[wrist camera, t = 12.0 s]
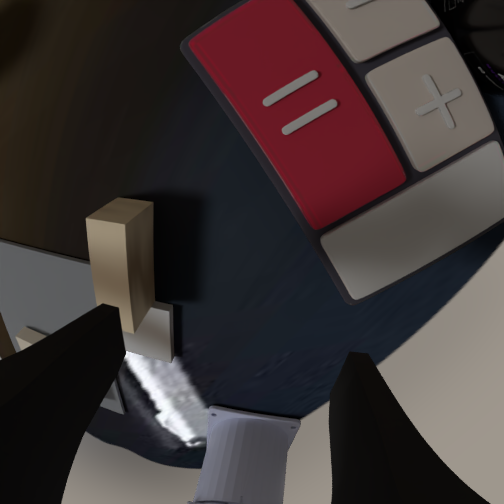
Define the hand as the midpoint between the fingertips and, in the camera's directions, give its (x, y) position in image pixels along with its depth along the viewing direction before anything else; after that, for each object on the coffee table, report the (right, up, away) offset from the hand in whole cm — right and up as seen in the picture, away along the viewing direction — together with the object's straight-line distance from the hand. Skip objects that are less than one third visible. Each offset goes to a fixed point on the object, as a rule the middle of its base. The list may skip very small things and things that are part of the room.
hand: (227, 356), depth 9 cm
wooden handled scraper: (-7, +1, +11) cm, 13 cm away
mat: (-18, -4, +15) cm, 24 cm away
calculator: (+6, +10, +5) cm, 13 cm away
